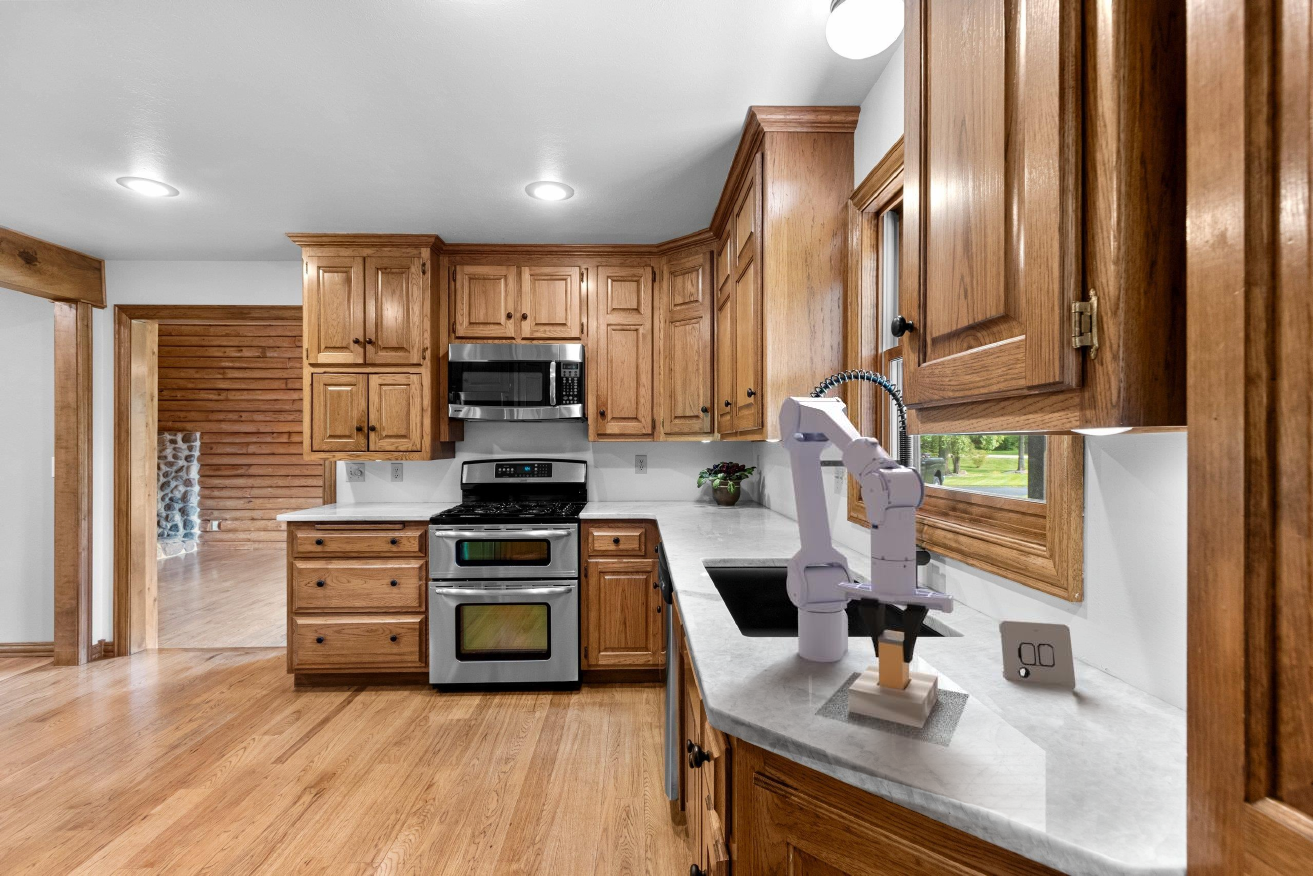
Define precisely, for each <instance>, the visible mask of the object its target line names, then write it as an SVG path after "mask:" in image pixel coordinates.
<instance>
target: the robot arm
mask: <svg viewBox="0 0 1313 876" xmlns="http://www.w3.org/2000/svg"><path fill="white" fill-rule="evenodd" d="M778 423H779V432H780V439H781V445H782V446H781V447H782V448H783V449H785V450H786V451H787V452H788V453H789V459H790V460H789V461H790V466H791V475H792V484H793V493H794V499H795V500H794V501H795V506H796V507H795V508H796V509H795V510H796V516H797V524H798V531H799V533H798V534H799V539H800V547H801V548H800V549H799V550H798V551H797V552H796V553H795V554H793V556H791V558H789V560H788V561H787V567H786V568H787V576H786V577H787V578H786V591H787V595H788V597H789V600H790V601H791V602H792V604H793V605H794V606H795V607H797V611H798V613H797V614H798V615H797V617H798V618H797V621H798V622H797V623H798V624H797V625H798V626H797V627H798V631H797V633H798V634H797V635H798V637H797V640H798V647H797V648H798V655H799V656H800V657H801V658H803V659H805V660H808V661H812V662H819V663H831V662H832V663H833V662H838V661H840V660H842V659H843V658H844V654H845V652H847V651H848V649H849V630H848V629H849V625H848V624H849V622H848V621H849V619H848V614H847V613H846V611H845V609H847V608H848V604H849V602H851V601H852V600H856V601H860V604H859V605H858V612H859V614H860V615H861V618H862V619H863V621H864V623H865V626H866V627H867V630H868V632H869V635H870V638H871V642H872V646H873V649H874V655H875V658H876V659H877V658H878V659H879V642H878V637H879V636H880V635H881V634H882V633H883V632H884V631H885V614H886V604H887V605H895V606H903V607H906V608H904V609H903V610H902V612H901V617H902V626H903V632H904V662H905V663H909V664H910V663H912V661H913V658H914V651H915V647H916V642H917V639H918V636H919V633H920V630H921V628H922V625H923V623H924V621H925V619H926V617H927V616H928V613H929V611H930V610H933V611H941V613H945V614H951V613H952V612H953V611H954V595H951V594H945V593H939V592H935V591H929V590H924V589H919V588H917V546H916V545H917V541H916V540H917V535H916V533H917V531H916V530H917V529H916V528H917V527H916V525H917V524H916V522H917V521H916V519H917V518H916V515H917V514H916V511H917V510H918V509H919V508H921V506H922V505H923V503H924V501H925V499H926V484H925V482H924V479H923V476H922V475H921V473H920V472H919V471H918V469H917V468H916V467H913V466H904V465H899V464H898V462H896V460H895V459H894V458H893V457H892V456H890V455H889V453H887V451H886V450H885V449H884V448H883V447H882V446H881V445H880V444H879V440H878V439H877V438H876V437H867V436H863V437H862V436H861V434H860V433H859V432H858V431H857V429H856V428H855V426H854V425H853V424H852V423H851V421H850V419H849V418H848V409H847V405H846V404H845V403H844V402H843V401H842V400H841V398H839V397H835V396H833V397H831V398H830V397H829V398H828V397H826V398H824V397H795V396H788V397H787V398H785V399H784V400H783V403H782V405H781V406H780V411H779V413H778ZM833 444H834V446H835V447H836V448H837V449H839V450H840V451H841V453H842V456H841V461H842V462H841V463H842V464H843V466H844V467H845V468H846V469H847V471H848V472H849V474H851V476H852V477H853V478H854V479H855V480H856V482H857V483H858V484H859V485H860V493H861V498H862V502H863V504H864V507H865V513H866V514H865V517H866V519H867V523H870V583H859V582H858V583H855V582H854V577H853V575H852V573H851V571H850V567H849V564H848V563H849V562H848V558H847V556H845V555H844V554H843V553H842V552H840V551H839V550H837V549H836V548H835V547H833V543H832V537H831V529H830V523H829V514H828V508H827V501H826V493H825V487H824V477H823V471H822V464H821V454H822V452H823V451H825V450H827V449H829V448H831V446H832V445H833ZM818 565H824V566H818ZM807 566H813V567H807ZM814 566H816V567H814Z"/></svg>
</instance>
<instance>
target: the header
mask: <svg viewBox="0 0 1313 876" xmlns="http://www.w3.org/2000/svg"><path fill="white" fill-rule="evenodd" d="M938 677H939V675H935V674H928V673H924V672H918V671H913V670H909V685H908V686H907V688H906V689H905V691H904V690H899V689H894V688H889V687H884V686H879V664H876V663H870V664H869V666H868V667H867V668H866V669H864V671H863V672H862V673H860V672H858V673H857V672H855V671H854V672H853V673H851V675H850V676H849V677H848V678H847V679H846V680H845V682H844V683H842V685H841V686H840V687H839V688H838V689H837V690H836V691H835V692H833V694H832V695H831V696H830V697H829V698H828V699H827V700H826V702H825V703H824V704H823V705H822V706H821V707H820V708H819V709H818V710H817V711H816V713H815V714H816V716H819V714H820V715H823V713H824V715H823V718H825V719H826V718H827V719H829V718H831V719H832V720H834V721H835V720H836V721H840V722H842V723H844V722H845V723H848V724H852V725H856V726H860V727H863V728H865V724H866V727H868V728H869V729H874V730H877V731H880V732H884V733H888V734H889V733H890V734H895V732H896V736H902V735H903V737H905V738H906V737H908V738H909V739H914V740H918V741H919V739H920V736H919V735H918V734H922V741H923V742H926V743H932V744H935V745H938V744H939V742H940V744H941V745H944V747H947V748H948V745H950V743H951V742H952V741H951V740H952V738H953V736H952V734H954V733H955V731H956V728H957V726H958V725H957V724H958V723H959V721H960V718H961V715H962V714H963V712H964V709H965V706H966V704H967V700H968V699H969V696H970V694H968V693H967V694H966V693H962V692H959V694H957V692H956V691H952V690H948V689H946V690H944V689H943V688H939V685H938V684H939V682H938V681H939V679H938ZM948 699H950V700H949V702H948ZM847 700H848V702H847ZM957 701H958V702H957ZM837 702H840V703H837ZM831 703H833V704H831ZM956 704H957V706H956ZM950 713H951V714H950ZM958 713H959V715H956V714H958ZM837 714H838V716H837ZM931 714H932V715H931ZM938 714H942V715H938ZM948 714H949V715H948ZM947 718H948V719H949V721H948V719H947ZM873 719H874V720H873ZM861 720H863V721H861ZM878 721H879V722H878ZM942 721H943V722H942ZM874 723H875V724H874ZM948 724H949V725H948ZM878 725H880V726H879V727H878ZM893 725H895V726H893ZM930 726H932V727H930ZM951 727H952V728H951ZM902 729H903V731H902ZM921 729H922V731H921ZM914 732H916V733H914ZM942 733H943V734H942ZM930 734H931V736H930ZM948 735H949V736H948ZM914 736H915V737H914ZM941 737H943V739H941ZM948 739H949V740H948ZM933 741H934V742H933Z"/></svg>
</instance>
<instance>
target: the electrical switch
mask: <svg viewBox="0 0 1313 876" xmlns="http://www.w3.org/2000/svg"><path fill="white" fill-rule="evenodd" d="M998 630H999V634H1000V642H1001V654H1002V655H1001V656H1002V666H1003V667H1002V668H1003V671H1002V677H1003V678H1004V679H1005V680H1012V681H1023V682H1035V683H1048V684H1054V685H1060V686H1066V687H1072V690H1074V689H1076V686H1077V685H1076V678H1075V666H1074V659H1073V648H1072V641H1071V639H1072V638H1071V632H1070V631H1071V630H1070V628H1069V626H1068V625H1066V624H1063V623H1055V622H1054V623H1052V622H1039V621H1038V622H1037V621H1020V620H1018V621H1017V620H1001V621H1000V622H999V623H998ZM1021 670H1024V674H1023V675H1022V674H1021Z"/></svg>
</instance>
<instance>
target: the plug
mask: <svg viewBox="0 0 1313 876" xmlns="http://www.w3.org/2000/svg"><path fill="white" fill-rule="evenodd" d="M878 642H879V658H878V665H879V686H884V687H889V688H894V689H899V690H904V691H905V689H906V688H907V686H908V685H909V671H910V663H905V662H904V631H903V632H902V631H895V630H890V629H884V632H883V633H882V634H881V635H880V636H879V637H878Z"/></svg>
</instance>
